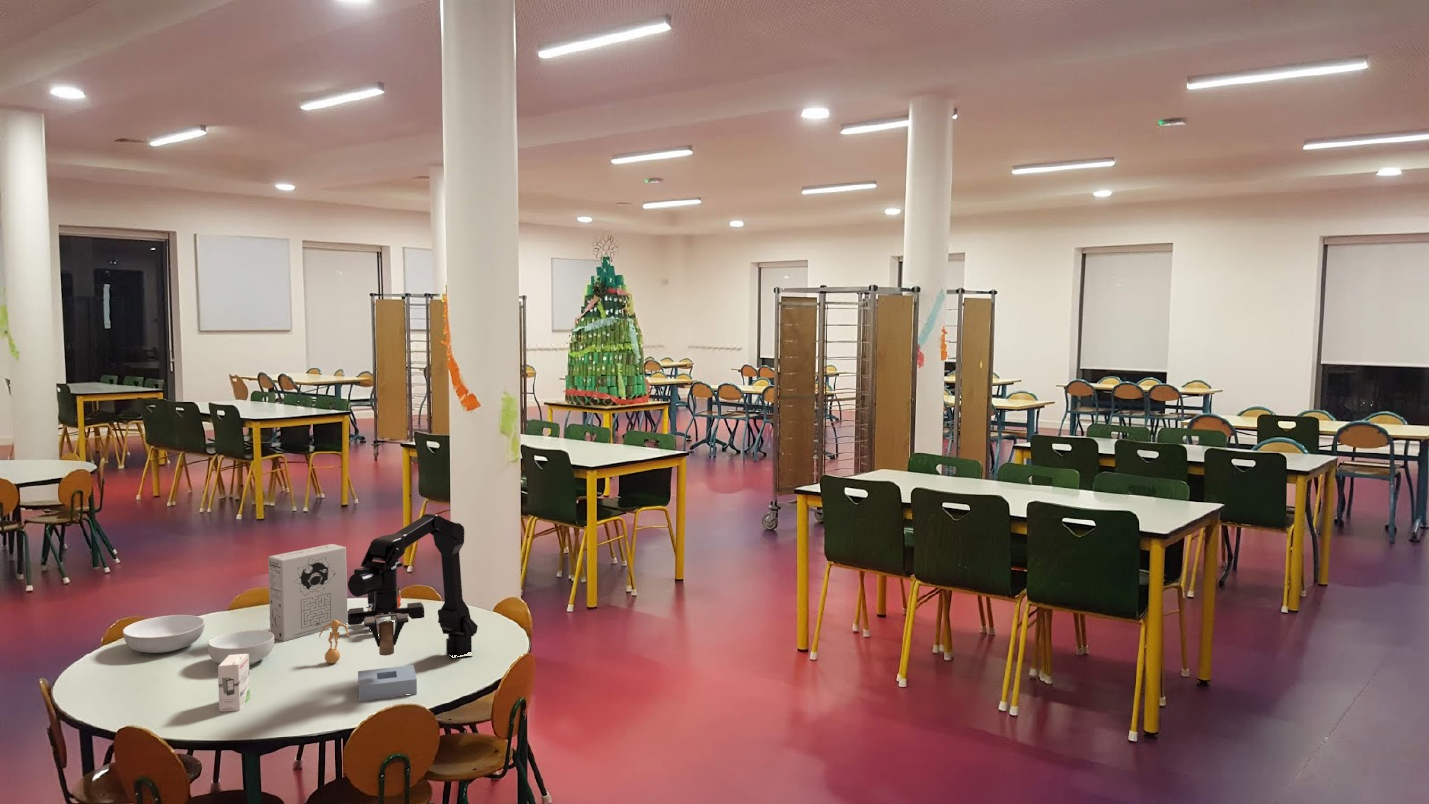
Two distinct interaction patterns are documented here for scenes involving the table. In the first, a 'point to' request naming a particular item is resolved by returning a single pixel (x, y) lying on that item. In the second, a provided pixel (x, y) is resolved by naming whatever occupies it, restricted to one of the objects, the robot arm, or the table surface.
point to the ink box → (233, 682)
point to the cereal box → (307, 591)
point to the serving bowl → (163, 633)
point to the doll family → (381, 619)
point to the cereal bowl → (241, 645)
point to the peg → (386, 638)
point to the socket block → (386, 682)
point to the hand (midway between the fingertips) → (386, 645)
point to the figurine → (334, 654)
